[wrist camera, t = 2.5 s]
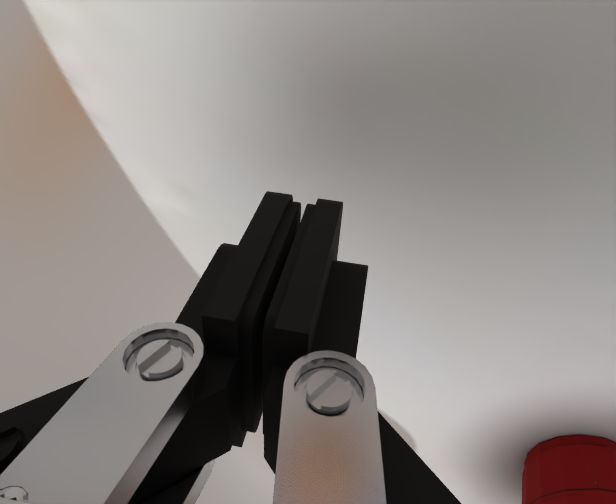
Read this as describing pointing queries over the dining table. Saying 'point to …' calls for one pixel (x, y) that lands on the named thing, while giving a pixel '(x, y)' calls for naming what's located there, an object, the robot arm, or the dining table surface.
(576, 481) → the plastic cup
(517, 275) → the dining table surface
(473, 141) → the dining table surface
